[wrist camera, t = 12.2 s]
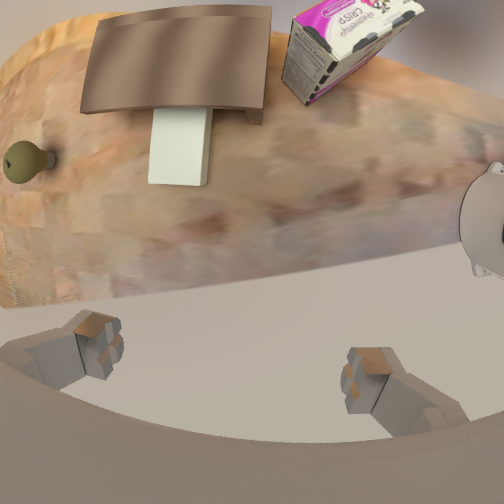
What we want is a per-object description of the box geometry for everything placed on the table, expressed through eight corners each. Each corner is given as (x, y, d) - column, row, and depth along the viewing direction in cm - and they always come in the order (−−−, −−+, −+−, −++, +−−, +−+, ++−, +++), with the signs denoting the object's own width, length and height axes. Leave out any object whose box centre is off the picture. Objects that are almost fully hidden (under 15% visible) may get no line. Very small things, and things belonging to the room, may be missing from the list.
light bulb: (71, 148, 33) (24, 147, 23) (59, 184, 34) (13, 192, 24) (47, 137, 32) (2, 135, 22) (37, 171, 33) (-8, 177, 24)
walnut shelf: (269, 45, 29) (272, 6, 19) (261, 125, 32) (262, 108, 22) (133, 48, 29) (98, 20, 19) (121, 123, 32) (79, 112, 22)
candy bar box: (341, 36, 28) (386, -31, 12) (367, 63, 29) (429, 11, 13) (277, 79, 30) (290, 15, 14) (305, 108, 31) (341, 63, 15)
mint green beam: (219, 60, 29) (214, 48, 26) (206, 183, 34) (199, 185, 30) (172, 61, 29) (163, 50, 26) (159, 181, 34) (148, 183, 30)
